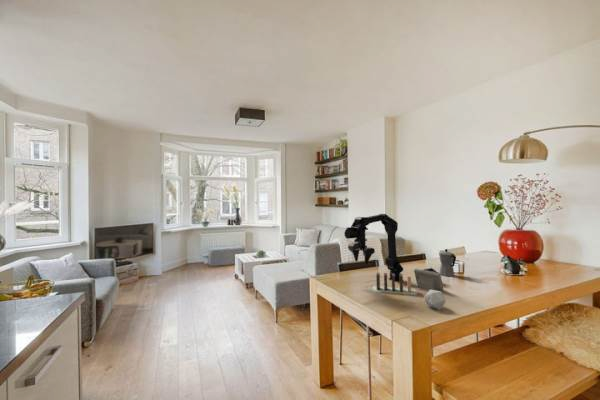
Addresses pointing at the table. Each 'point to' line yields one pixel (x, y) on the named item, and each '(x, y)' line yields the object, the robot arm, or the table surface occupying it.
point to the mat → (397, 290)
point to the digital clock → (428, 280)
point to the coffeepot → (447, 263)
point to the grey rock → (434, 299)
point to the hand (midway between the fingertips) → (361, 262)
